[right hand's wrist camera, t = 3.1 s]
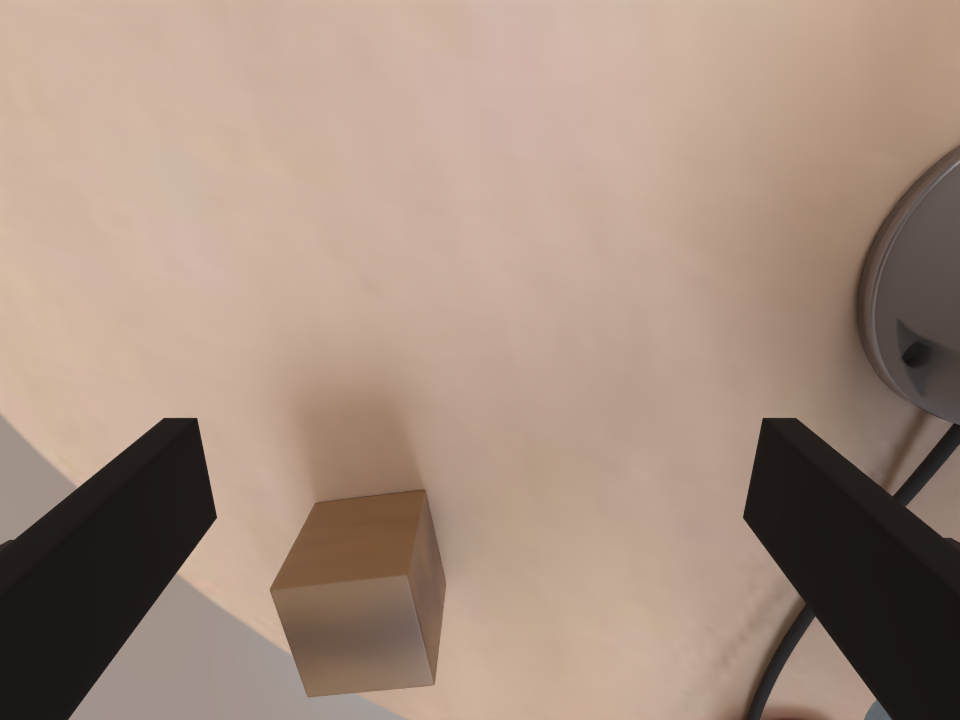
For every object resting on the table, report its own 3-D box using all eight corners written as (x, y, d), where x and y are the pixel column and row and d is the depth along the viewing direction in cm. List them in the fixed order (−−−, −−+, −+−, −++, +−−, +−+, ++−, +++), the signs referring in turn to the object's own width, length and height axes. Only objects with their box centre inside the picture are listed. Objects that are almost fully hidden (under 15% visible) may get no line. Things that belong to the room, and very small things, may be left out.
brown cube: (446, 584, 34) (435, 686, 28) (343, 596, 35) (307, 698, 28) (425, 489, 32) (407, 574, 25) (315, 502, 32) (268, 589, 26)
